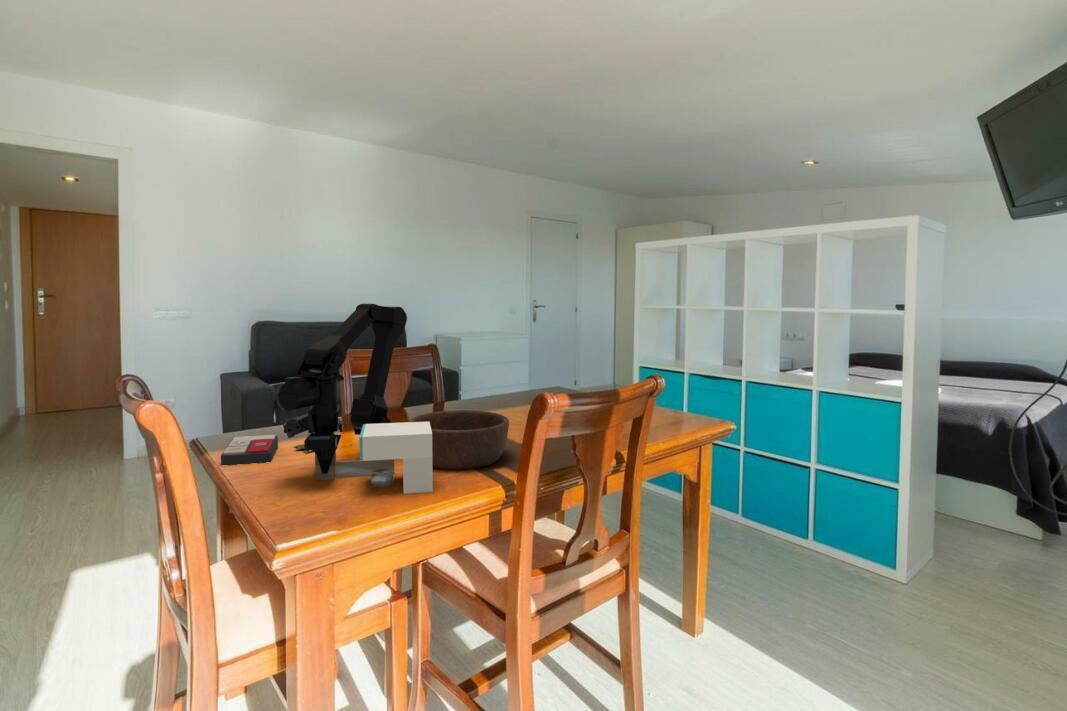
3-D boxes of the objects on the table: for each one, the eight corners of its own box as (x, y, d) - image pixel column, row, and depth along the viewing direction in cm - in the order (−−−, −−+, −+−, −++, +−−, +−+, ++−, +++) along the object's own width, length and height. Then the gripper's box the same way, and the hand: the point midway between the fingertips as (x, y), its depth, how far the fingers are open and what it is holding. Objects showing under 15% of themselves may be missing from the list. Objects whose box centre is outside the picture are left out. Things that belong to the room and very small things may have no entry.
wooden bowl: (521, 450, 156) (521, 413, 155) (489, 478, 132) (489, 434, 131) (435, 443, 163) (435, 407, 162) (390, 468, 139) (389, 426, 138)
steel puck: (371, 481, 129) (371, 469, 129) (393, 480, 130) (393, 468, 130) (370, 488, 125) (370, 475, 124) (393, 487, 126) (393, 474, 125)
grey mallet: (318, 475, 133) (317, 445, 132) (394, 471, 137) (394, 441, 136) (315, 480, 129) (314, 449, 128) (394, 476, 133) (393, 446, 132)
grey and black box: (220, 452, 139) (232, 435, 153) (221, 470, 140) (233, 450, 154) (270, 449, 142) (277, 432, 156) (270, 466, 143) (278, 448, 157)
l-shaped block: (364, 478, 131) (363, 423, 130) (429, 474, 134) (429, 421, 133) (360, 496, 119) (359, 436, 118) (432, 492, 122) (432, 433, 121)
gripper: (293, 396, 137) (295, 461, 139) (276, 412, 119) (279, 486, 120) (342, 395, 139) (344, 458, 141) (334, 410, 121) (336, 483, 123)
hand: (326, 470), depth 131 cm, fingers closed on grey mallet, 4 cm apart
